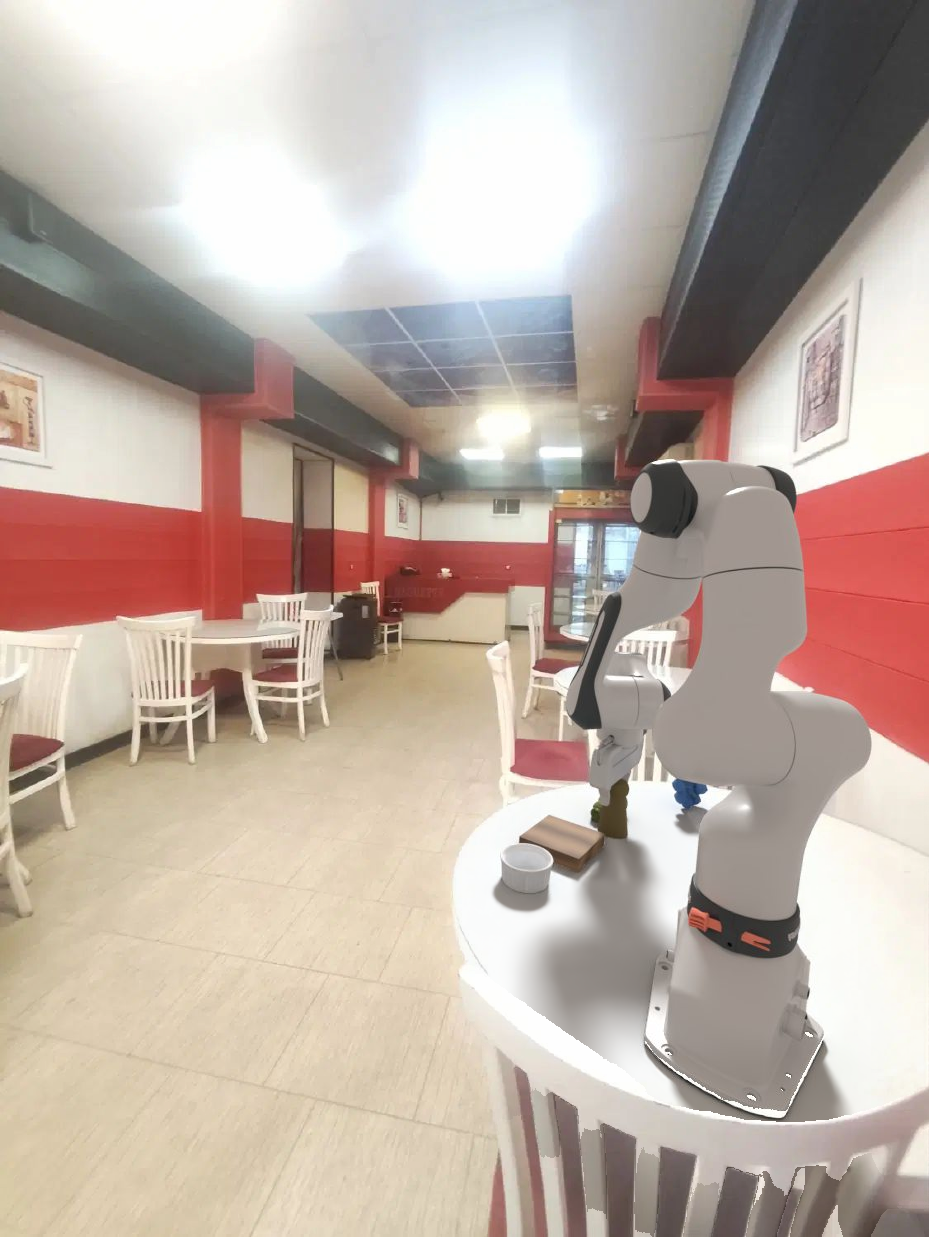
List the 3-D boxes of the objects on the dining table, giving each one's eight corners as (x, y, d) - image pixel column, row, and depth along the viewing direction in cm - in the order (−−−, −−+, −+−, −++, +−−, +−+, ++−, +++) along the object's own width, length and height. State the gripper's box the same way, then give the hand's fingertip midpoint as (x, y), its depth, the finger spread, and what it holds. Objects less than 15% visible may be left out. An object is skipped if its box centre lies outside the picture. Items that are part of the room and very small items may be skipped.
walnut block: (578, 872, 94) (579, 859, 94) (518, 849, 101) (519, 836, 101) (604, 846, 104) (605, 833, 104) (548, 826, 111) (548, 814, 111)
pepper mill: (624, 826, 113) (628, 774, 112) (630, 840, 107) (635, 786, 106) (595, 823, 114) (599, 772, 113) (599, 837, 108) (603, 783, 107)
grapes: (690, 822, 116) (695, 768, 115) (662, 810, 121) (667, 758, 120) (719, 810, 123) (724, 759, 122) (691, 799, 128) (695, 750, 127)
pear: (632, 790, 118) (606, 810, 111) (632, 812, 119) (606, 833, 112) (610, 782, 122) (583, 800, 115) (610, 803, 123) (584, 822, 116)
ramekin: (560, 893, 88) (562, 867, 88) (509, 899, 86) (511, 873, 85) (538, 864, 97) (540, 840, 96) (491, 869, 94) (493, 845, 94)
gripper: (615, 747, 98) (609, 819, 100) (650, 723, 115) (645, 785, 116) (583, 739, 102) (578, 809, 103) (621, 716, 118) (616, 777, 120)
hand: (613, 796), depth 110 cm, fingers open, 8 cm apart
